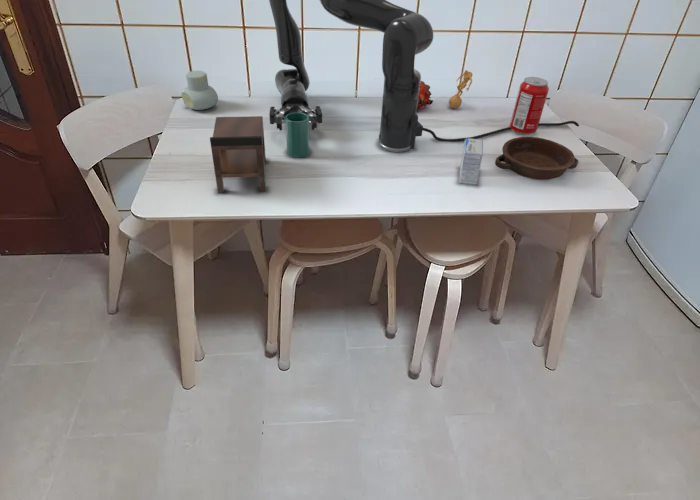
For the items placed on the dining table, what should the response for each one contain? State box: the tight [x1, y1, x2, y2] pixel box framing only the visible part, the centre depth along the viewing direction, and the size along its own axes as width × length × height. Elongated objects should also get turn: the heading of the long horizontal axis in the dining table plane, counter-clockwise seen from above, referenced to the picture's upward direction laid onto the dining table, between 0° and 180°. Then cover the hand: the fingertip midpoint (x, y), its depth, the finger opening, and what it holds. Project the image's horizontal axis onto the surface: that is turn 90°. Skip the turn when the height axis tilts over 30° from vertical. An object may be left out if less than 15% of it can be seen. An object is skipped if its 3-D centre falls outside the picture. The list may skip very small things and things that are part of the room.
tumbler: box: [285, 112, 310, 159], centre depth 130 cm, size 6×6×10 cm
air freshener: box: [181, 70, 219, 111], centre depth 150 cm, size 11×8×10 cm
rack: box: [209, 115, 267, 194], centre depth 118 cm, size 11×15×14 cm
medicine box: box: [458, 137, 484, 186], centre depth 124 cm, size 8×4×9 cm, turn 168°
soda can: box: [509, 76, 550, 136], centre depth 144 cm, size 8×8×15 cm
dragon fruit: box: [417, 80, 434, 110], centre depth 157 cm, size 8×8×12 cm
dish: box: [494, 136, 579, 181], centre depth 130 cm, size 18×22×5 cm
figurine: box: [448, 69, 473, 110], centre depth 156 cm, size 8×6×12 cm
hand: (297, 126), depth 131 cm, fingers open, 8 cm apart
